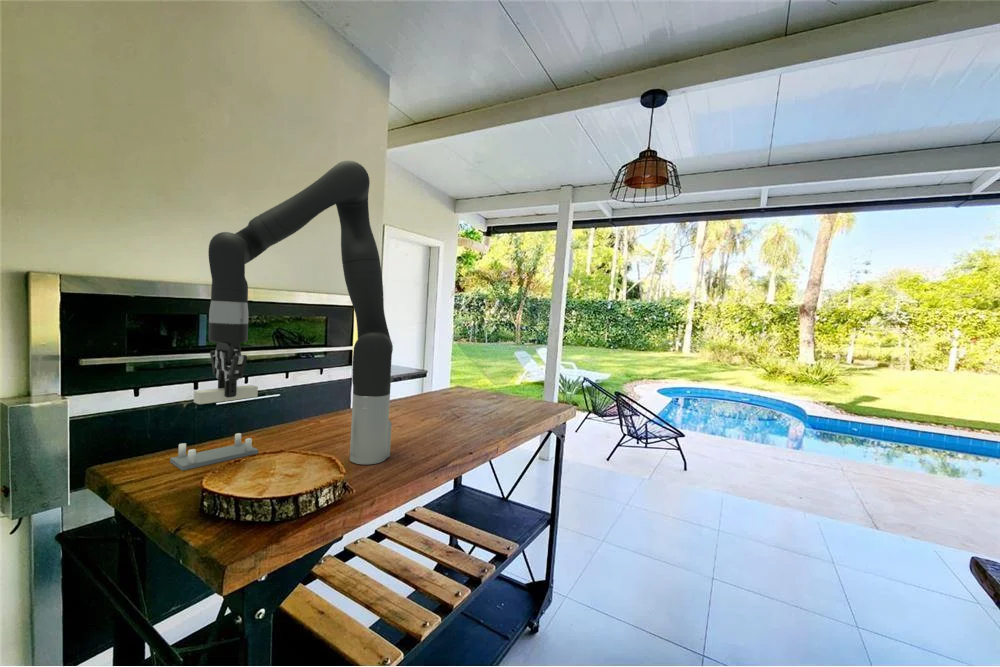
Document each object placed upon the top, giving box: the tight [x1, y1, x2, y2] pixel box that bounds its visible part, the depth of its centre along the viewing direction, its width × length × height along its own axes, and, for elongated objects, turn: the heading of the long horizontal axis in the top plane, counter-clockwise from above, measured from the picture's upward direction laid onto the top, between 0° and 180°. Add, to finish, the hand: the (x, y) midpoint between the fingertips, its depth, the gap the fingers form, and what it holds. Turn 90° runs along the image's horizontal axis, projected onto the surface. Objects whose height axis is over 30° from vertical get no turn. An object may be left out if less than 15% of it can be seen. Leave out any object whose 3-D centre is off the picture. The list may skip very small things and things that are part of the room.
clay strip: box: [193, 384, 259, 405], centre depth 93 cm, size 12×3×2 cm, turn 146°
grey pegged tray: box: [169, 432, 259, 472], centre depth 99 cm, size 16×8×4 cm, turn 146°
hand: (226, 395), depth 93 cm, fingers closed on clay strip, 3 cm apart
